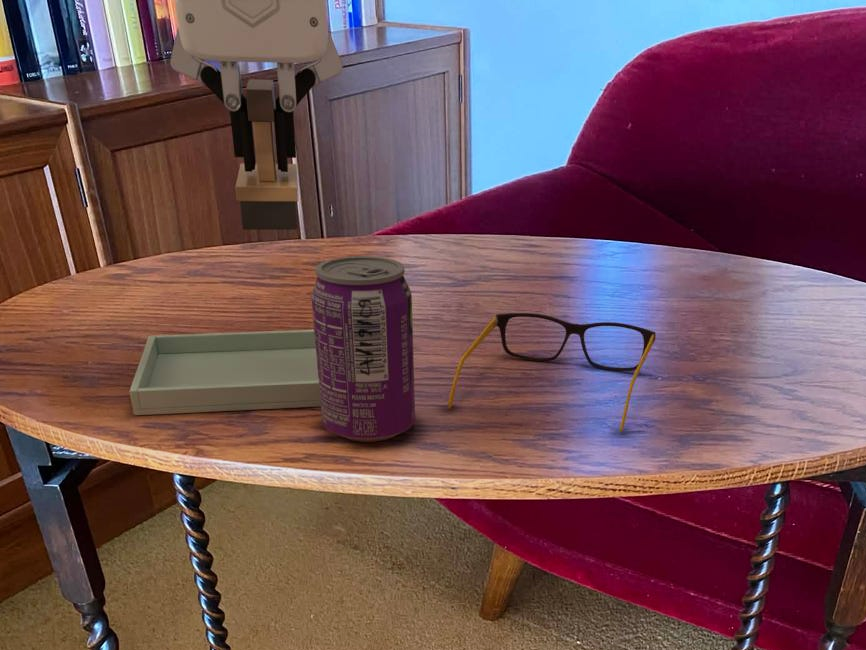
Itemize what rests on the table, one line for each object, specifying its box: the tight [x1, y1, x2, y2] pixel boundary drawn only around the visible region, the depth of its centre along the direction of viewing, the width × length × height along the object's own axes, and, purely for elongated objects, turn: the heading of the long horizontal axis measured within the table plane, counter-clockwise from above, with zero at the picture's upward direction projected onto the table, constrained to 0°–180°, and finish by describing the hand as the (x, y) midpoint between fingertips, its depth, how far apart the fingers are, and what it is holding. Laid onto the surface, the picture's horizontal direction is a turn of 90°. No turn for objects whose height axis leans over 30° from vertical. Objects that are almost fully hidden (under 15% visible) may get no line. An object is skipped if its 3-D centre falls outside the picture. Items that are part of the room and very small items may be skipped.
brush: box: [234, 78, 299, 231], centre depth 72 cm, size 4×9×9 cm, turn 9°
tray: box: [128, 329, 321, 416], centre depth 81 cm, size 18×13×2 cm
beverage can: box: [311, 255, 416, 443], centre depth 70 cm, size 7×7×12 cm
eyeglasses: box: [447, 312, 657, 433], centre depth 80 cm, size 14×14×4 cm
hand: (266, 166), depth 73 cm, fingers closed on brush
